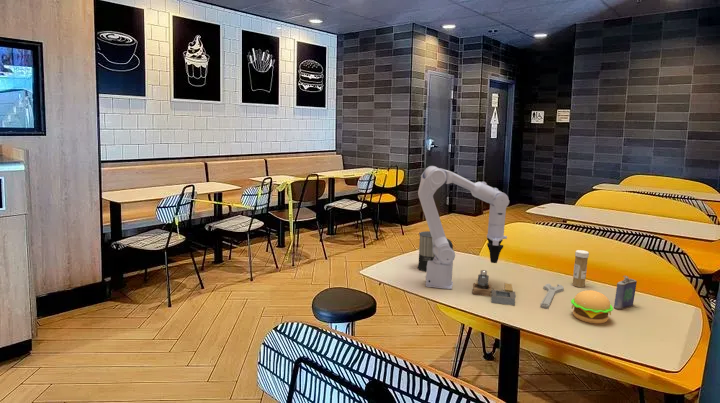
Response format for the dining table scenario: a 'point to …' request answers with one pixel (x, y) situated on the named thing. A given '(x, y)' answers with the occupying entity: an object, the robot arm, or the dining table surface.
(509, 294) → the socket block
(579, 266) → the sprinkles bottle
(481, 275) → the grey knob
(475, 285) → the brown square tray
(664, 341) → the dining table surface
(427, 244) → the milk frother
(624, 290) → the flask
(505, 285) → the bar
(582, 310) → the hamburger
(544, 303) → the adjustable wrench
